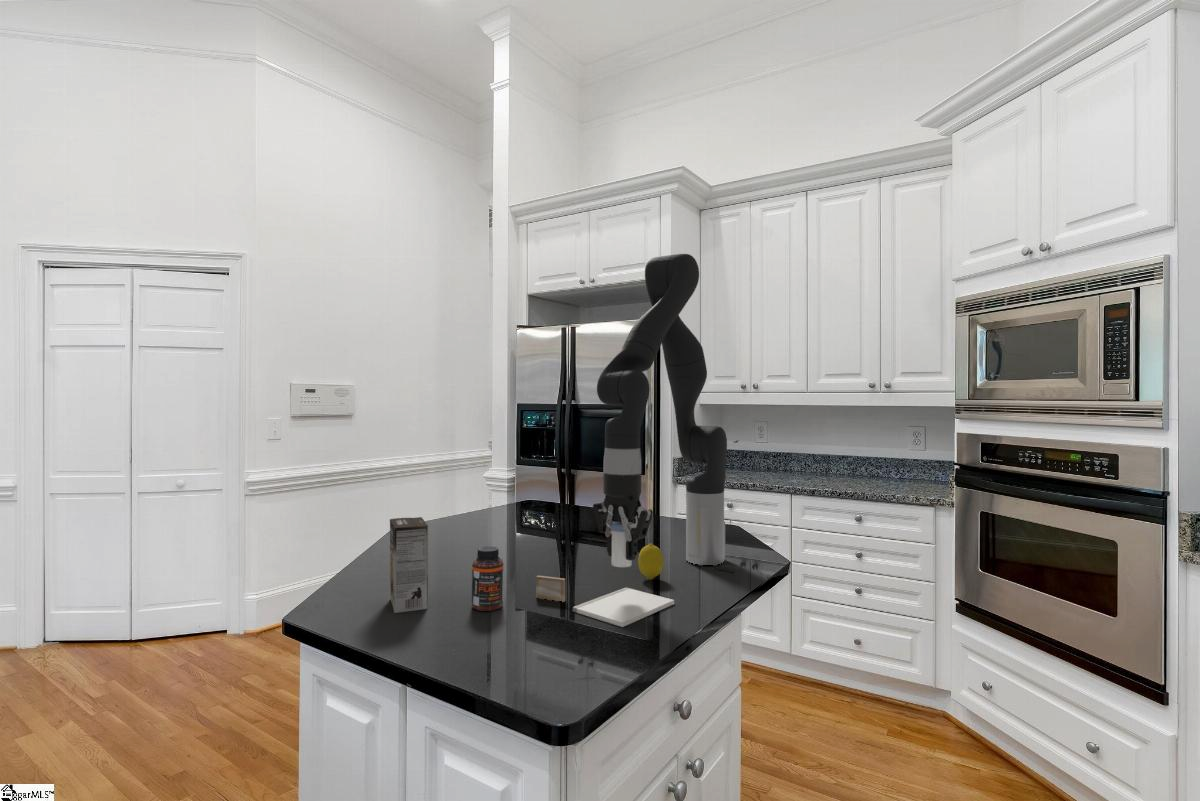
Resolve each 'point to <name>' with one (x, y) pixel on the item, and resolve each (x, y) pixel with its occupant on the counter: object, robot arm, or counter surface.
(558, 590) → the word sign
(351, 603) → the counter surface
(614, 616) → the paper pad
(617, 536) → the white blue capped bottle
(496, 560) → the supplement bottle
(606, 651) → the counter surface
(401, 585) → the coffee box
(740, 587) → the counter surface
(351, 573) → the counter surface
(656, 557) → the lemon
